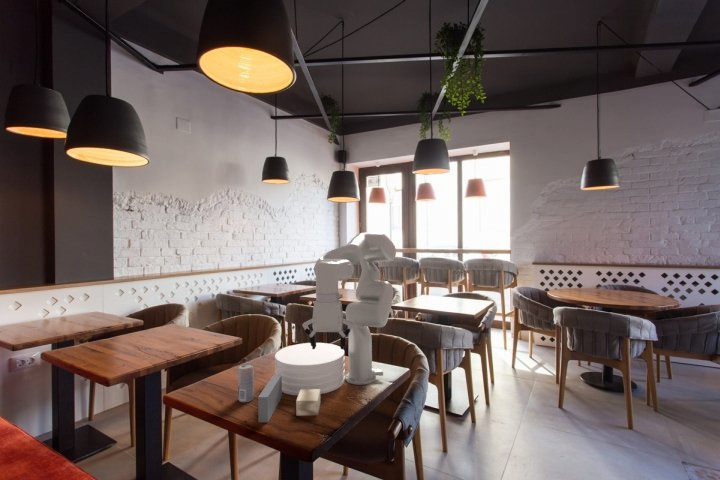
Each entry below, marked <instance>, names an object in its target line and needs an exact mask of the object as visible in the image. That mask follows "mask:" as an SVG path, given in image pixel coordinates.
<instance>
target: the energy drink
mask: <svg viewBox="0 0 720 480" xmlns="http://www.w3.org/2000/svg"><path fill="white" fill-rule="evenodd" d="M254 374H255V372H254V366H253V364H251V363H243V364H241V365H238V369H237V389H238V391H237V393H238V395H237V396H238V397H237V398H238V401H239V402H240V403H248V402H251V401H253V399H254V398H255V387H254V386H255V384H254V379H255V378H254V376H255V375H254Z"/></svg>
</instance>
